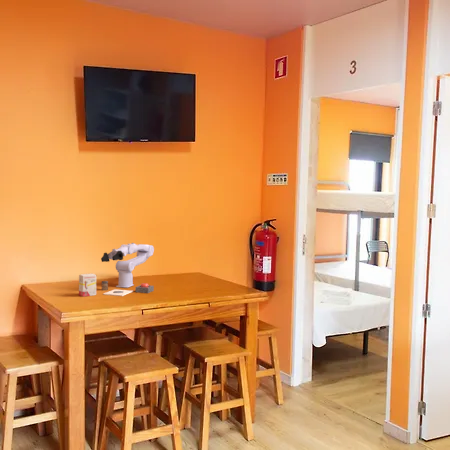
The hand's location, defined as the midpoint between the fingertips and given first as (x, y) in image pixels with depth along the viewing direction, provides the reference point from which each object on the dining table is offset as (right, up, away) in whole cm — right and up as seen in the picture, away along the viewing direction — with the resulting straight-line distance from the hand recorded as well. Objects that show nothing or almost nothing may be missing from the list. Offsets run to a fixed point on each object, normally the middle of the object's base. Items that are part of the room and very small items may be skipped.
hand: (107, 259), depth 315 cm
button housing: (+21, -19, +6) cm, 29 cm away
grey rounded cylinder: (-3, -19, +8) cm, 21 cm away
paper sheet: (+6, -19, -1) cm, 21 cm away
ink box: (-9, -20, -9) cm, 24 cm away
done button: (+21, -17, +6) cm, 28 cm away
